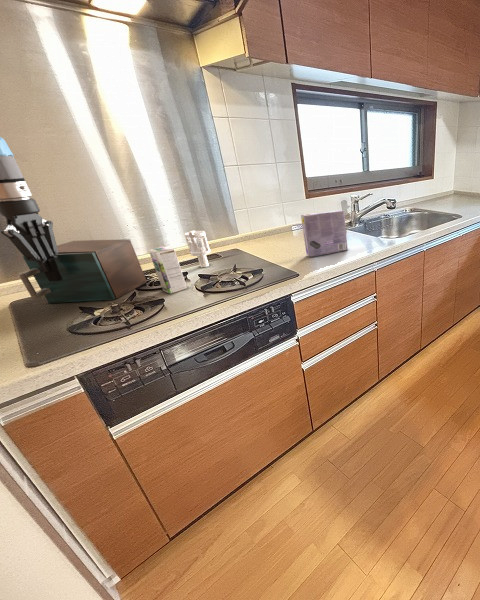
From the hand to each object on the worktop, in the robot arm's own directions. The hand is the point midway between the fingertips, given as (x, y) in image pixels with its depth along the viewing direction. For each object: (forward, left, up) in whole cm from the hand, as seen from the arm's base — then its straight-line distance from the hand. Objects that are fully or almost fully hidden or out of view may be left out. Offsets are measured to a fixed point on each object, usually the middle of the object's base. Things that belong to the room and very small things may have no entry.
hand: (56, 280), depth 97 cm
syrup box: (+28, +7, -9) cm, 30 cm away
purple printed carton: (+79, +37, -9) cm, 87 cm away
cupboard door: (+1, +1, -9) cm, 9 cm away
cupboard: (+3, +12, -9) cm, 15 cm away
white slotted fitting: (+29, +31, -9) cm, 43 cm away
